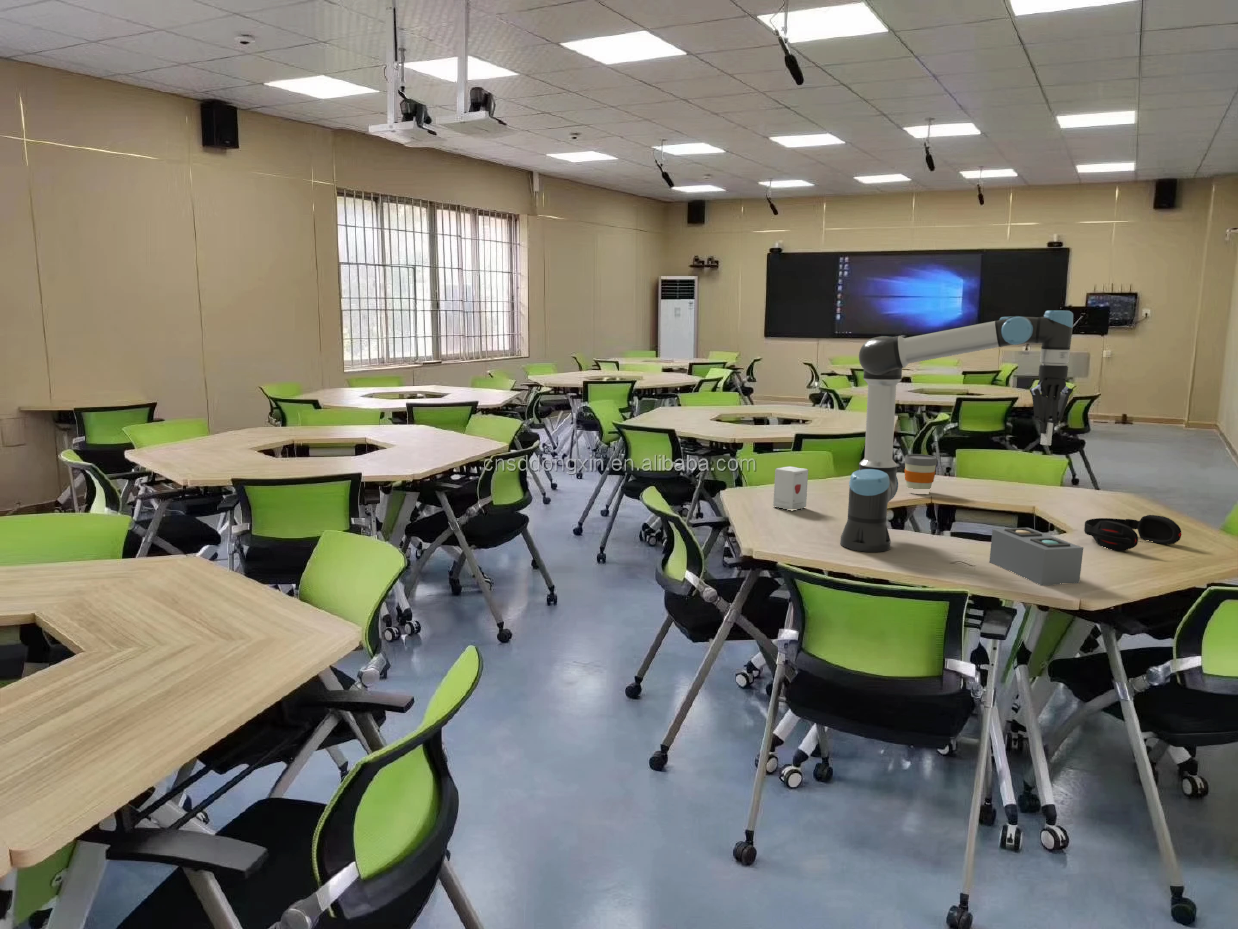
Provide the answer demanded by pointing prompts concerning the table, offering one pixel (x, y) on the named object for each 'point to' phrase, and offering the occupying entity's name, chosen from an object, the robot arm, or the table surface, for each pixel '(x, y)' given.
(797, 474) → the supplement box
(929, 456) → the reusable coffee cup
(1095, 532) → the headset
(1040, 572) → the socket block
